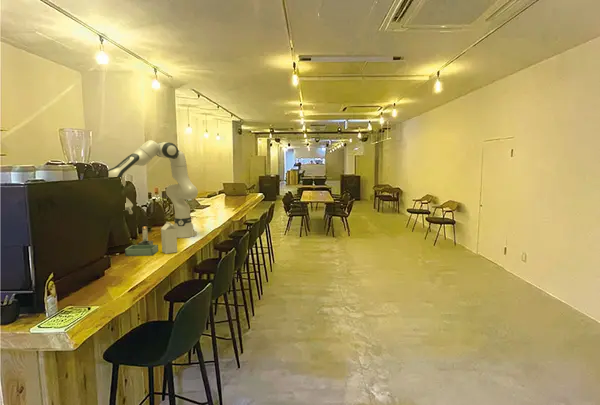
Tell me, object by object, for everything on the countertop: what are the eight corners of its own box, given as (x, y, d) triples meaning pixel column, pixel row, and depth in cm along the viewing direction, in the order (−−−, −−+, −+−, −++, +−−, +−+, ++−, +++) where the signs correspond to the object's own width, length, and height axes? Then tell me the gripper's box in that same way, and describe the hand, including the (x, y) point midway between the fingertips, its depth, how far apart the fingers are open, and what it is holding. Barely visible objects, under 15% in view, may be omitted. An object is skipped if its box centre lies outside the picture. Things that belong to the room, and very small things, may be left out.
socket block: (142, 248, 240) (141, 240, 240) (153, 248, 241) (152, 240, 240) (138, 251, 233) (137, 243, 233) (149, 250, 234) (149, 243, 233)
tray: (132, 251, 233) (131, 245, 232) (158, 250, 234) (157, 244, 233) (125, 255, 222) (124, 249, 221) (152, 255, 223) (152, 249, 222)
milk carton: (166, 254, 226) (164, 223, 224) (162, 251, 232) (160, 222, 229) (177, 252, 231) (176, 222, 228) (173, 250, 236) (172, 220, 234)
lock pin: (144, 249, 238) (143, 226, 237) (149, 248, 239) (147, 226, 237) (142, 250, 235) (141, 227, 234) (147, 250, 236) (146, 227, 234)
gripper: (103, 197, 227) (118, 213, 226) (126, 194, 247) (139, 209, 246) (98, 204, 229) (112, 220, 228) (121, 200, 249) (134, 215, 247)
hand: (126, 214), depth 237 cm, fingers open, 8 cm apart
